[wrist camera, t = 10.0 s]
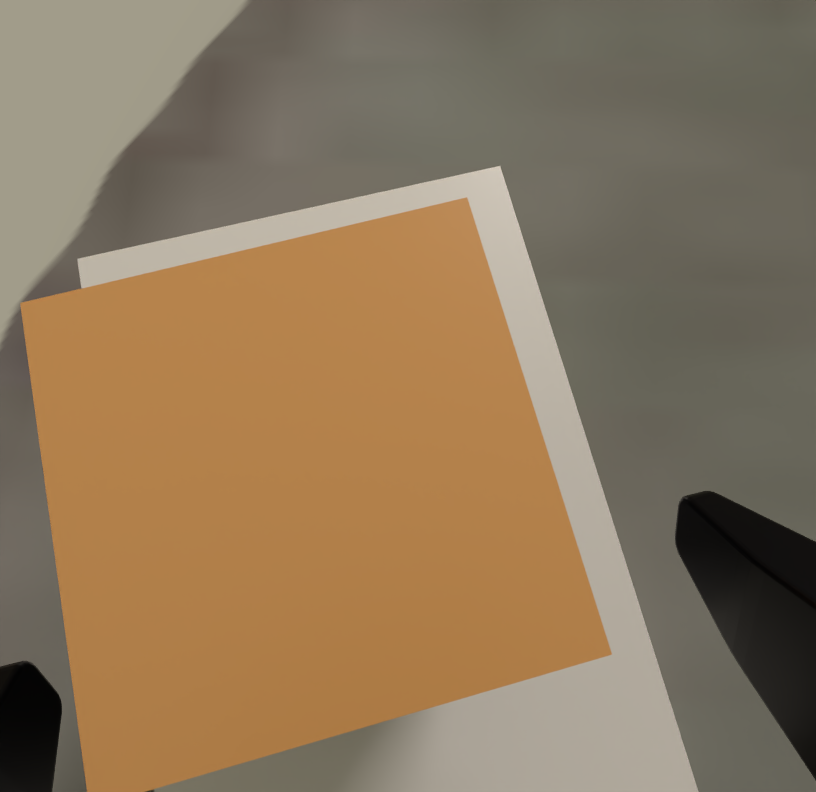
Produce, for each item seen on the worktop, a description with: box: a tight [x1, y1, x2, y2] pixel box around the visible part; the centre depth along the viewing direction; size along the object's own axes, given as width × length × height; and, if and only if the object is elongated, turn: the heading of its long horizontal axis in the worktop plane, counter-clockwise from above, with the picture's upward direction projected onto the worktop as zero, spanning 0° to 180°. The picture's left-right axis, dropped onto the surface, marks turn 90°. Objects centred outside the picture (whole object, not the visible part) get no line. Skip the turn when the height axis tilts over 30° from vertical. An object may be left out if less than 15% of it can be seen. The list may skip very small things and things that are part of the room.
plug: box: [20, 197, 612, 792], centre depth 11 cm, size 4×4×12 cm
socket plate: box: [77, 166, 698, 792], centre depth 16 cm, size 17×12×2 cm
